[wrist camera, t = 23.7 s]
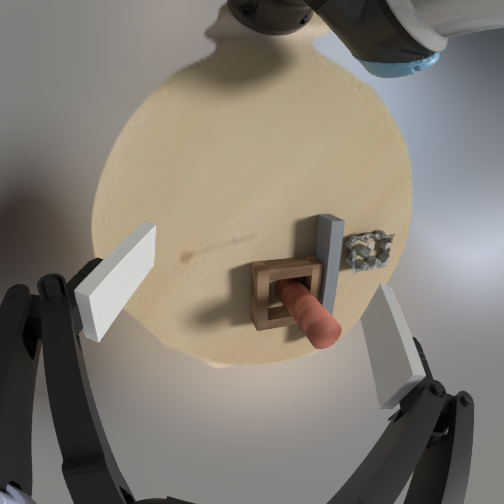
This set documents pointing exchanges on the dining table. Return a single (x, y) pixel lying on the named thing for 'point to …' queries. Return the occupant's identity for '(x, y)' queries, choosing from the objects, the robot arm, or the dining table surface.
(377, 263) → the grey rough frame
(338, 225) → the backstop wall
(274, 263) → the socket block
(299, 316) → the dowel
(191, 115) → the dining table surface
